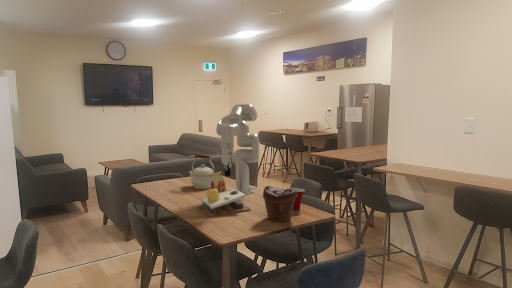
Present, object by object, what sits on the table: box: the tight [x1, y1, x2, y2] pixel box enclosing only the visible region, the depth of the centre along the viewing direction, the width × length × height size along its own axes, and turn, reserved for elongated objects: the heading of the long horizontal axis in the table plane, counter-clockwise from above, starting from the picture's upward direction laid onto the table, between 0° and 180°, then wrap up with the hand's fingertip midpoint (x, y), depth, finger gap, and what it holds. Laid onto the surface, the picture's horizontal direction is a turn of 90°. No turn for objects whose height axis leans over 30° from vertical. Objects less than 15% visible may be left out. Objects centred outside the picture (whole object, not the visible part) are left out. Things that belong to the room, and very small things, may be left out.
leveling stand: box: [198, 200, 251, 217], centre depth 219 cm, size 26×20×4 cm
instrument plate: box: [201, 187, 247, 209], centre depth 218 cm, size 22×18×8 cm
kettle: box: [188, 154, 215, 190], centre depth 277 cm, size 25×18×25 cm
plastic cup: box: [287, 187, 305, 210], centre depth 221 cm, size 11×11×12 cm
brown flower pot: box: [262, 185, 298, 223], centre depth 201 cm, size 18×20×18 cm
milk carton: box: [210, 170, 227, 193], centre depth 238 cm, size 9×9×20 cm
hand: (227, 175), depth 215 cm, fingers closed
